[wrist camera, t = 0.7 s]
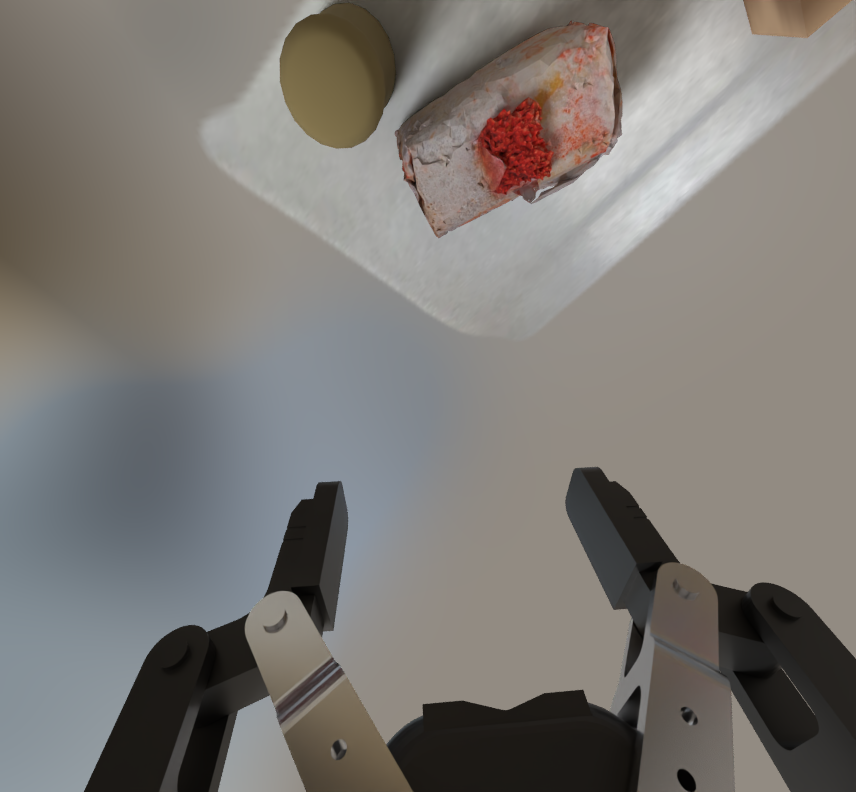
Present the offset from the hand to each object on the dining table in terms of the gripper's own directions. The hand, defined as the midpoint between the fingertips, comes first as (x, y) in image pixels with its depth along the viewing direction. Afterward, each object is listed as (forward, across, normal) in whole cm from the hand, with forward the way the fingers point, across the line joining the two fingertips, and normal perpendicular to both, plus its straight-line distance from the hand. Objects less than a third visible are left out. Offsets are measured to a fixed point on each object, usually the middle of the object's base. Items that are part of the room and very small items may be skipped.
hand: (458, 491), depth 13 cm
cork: (+25, +4, -15) cm, 29 cm away
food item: (+25, -6, -12) cm, 29 cm away
